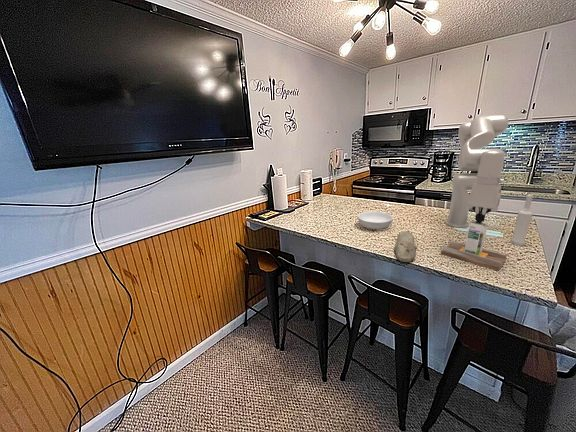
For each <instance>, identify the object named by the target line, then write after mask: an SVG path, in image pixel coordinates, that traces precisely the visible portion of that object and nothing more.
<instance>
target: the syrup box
mask: <svg viewBox="0 0 576 432" xmlns="http://www.w3.org/2000/svg"><path fill="white" fill-rule="evenodd" d="M488 226H489V223H488V222H484V221H482V222H481V223H476V220H472V221H470V222H469V227H467V232H466V233H467V235H466V240H465V249H464V252H468V253H471V254H475V255H480V254H481V252H482V249H484V245H485V239H486V234H487V229H488Z"/></svg>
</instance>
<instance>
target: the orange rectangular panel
mask: <svg viewBox="0 0 576 432" xmlns="http://www.w3.org/2000/svg"><path fill="white" fill-rule="evenodd" d="M464 249H465V247H462V248H461V249H460V251H464ZM479 256H482V257H487V256H488V253H484V252H481V254H480V255H479Z"/></svg>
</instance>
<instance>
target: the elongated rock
mask: <svg viewBox="0 0 576 432" xmlns="http://www.w3.org/2000/svg"><path fill="white" fill-rule="evenodd" d="M395 240H396V242H395V245H394V251H395V256H396V258H397V259H398V260H399V262H403V263H411V262H412V261H414V260H415V258H416V256H417V250H418V246H417V245H415V237H414V234H413V233H412V232H410V231H406V230H405V231H401V232H399V233H398V235H397V238H396V239H395Z"/></svg>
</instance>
